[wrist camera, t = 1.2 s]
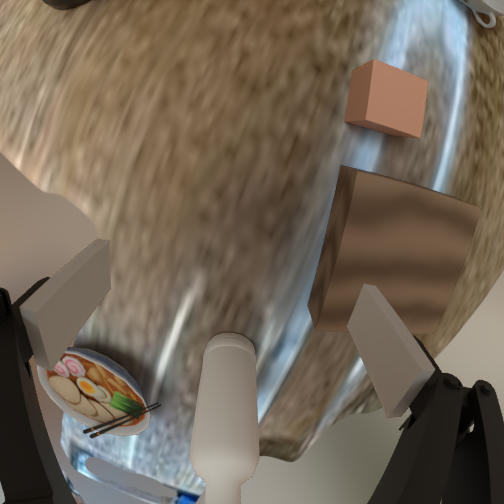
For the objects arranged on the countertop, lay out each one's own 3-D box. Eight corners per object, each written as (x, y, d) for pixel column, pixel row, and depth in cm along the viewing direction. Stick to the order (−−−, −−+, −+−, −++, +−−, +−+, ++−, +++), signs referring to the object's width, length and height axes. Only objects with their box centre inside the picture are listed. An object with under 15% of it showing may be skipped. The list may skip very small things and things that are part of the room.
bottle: (198, 335, 43) (165, 528, 16) (249, 326, 43) (253, 531, 15) (213, 371, 46) (197, 542, 19) (259, 364, 46) (269, 542, 18)
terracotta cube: (351, 71, 30) (373, 59, 23) (399, 87, 30) (427, 81, 24) (344, 121, 32) (365, 119, 26) (392, 136, 33) (420, 138, 26)
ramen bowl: (93, 299, 41) (70, 329, 33) (188, 388, 48) (182, 423, 41) (36, 353, 46) (19, 378, 39) (113, 419, 53) (104, 446, 46)
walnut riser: (340, 164, 34) (357, 170, 29) (456, 197, 36) (481, 208, 30) (307, 305, 42) (315, 330, 36) (417, 312, 43) (433, 333, 38)
